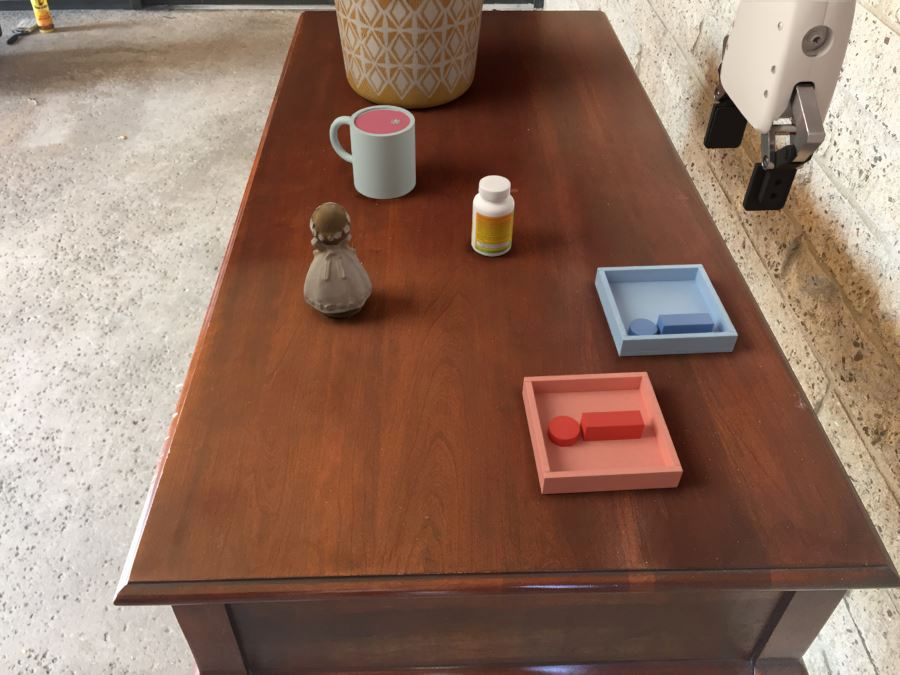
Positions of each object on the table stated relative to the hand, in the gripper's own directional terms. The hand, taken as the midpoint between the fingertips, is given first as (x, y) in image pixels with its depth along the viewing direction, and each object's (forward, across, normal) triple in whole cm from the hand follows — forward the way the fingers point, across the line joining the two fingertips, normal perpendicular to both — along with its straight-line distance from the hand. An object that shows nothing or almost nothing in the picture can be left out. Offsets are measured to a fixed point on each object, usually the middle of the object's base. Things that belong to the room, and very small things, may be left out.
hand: (740, 176), depth 65 cm
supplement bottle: (+28, +30, +16) cm, 44 cm away
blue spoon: (+28, +11, -3) cm, 30 cm away
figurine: (+28, +18, +36) cm, 49 cm away
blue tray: (+28, +14, -3) cm, 32 cm away
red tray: (+28, -4, +9) cm, 30 cm away
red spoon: (+28, -4, +9) cm, 29 cm away
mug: (+28, +48, +32) cm, 64 cm away
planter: (+28, +80, +25) cm, 89 cm away
